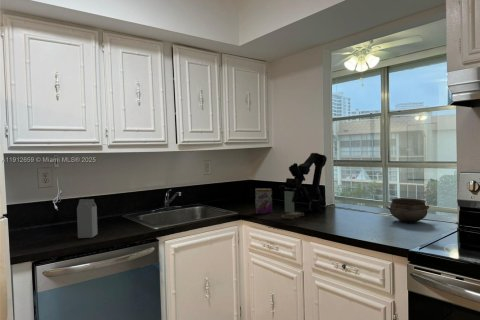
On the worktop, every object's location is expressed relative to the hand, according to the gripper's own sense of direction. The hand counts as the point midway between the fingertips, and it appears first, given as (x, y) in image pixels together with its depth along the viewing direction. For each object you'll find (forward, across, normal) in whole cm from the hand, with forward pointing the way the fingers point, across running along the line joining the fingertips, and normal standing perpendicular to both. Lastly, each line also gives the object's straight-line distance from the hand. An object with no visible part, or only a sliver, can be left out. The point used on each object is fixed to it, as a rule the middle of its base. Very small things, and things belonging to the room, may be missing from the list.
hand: (288, 201), depth 194 cm
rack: (+4, 0, +11) cm, 12 cm away
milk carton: (+74, -60, -59) cm, 112 cm away
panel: (+4, 0, +6) cm, 7 cm away
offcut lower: (+3, 0, +13) cm, 13 cm away
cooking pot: (-16, +58, +32) cm, 68 cm away
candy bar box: (+4, -23, +12) cm, 26 cm away
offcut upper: (+2, 0, +12) cm, 12 cm away
